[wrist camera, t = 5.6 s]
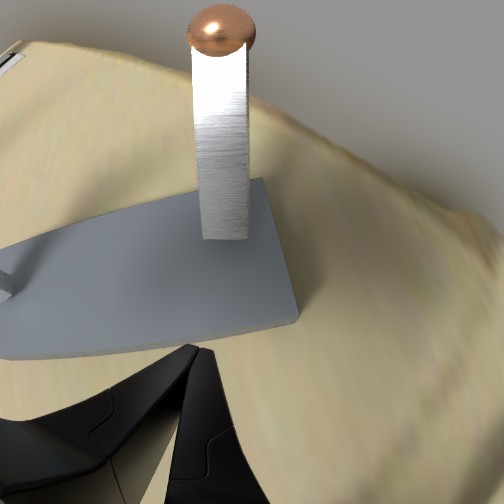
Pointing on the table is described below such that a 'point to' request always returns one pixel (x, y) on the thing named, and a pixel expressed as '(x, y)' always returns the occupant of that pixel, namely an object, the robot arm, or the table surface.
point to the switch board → (143, 282)
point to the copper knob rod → (222, 118)
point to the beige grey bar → (5, 286)
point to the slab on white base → (9, 61)
